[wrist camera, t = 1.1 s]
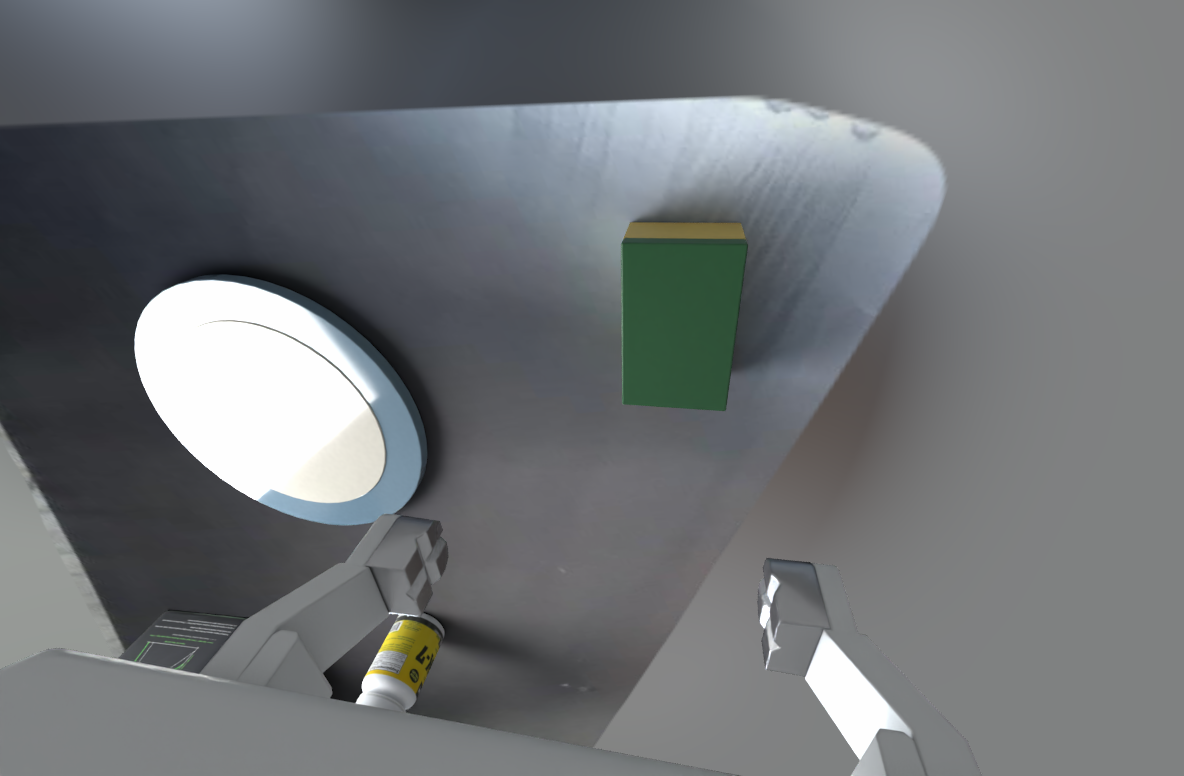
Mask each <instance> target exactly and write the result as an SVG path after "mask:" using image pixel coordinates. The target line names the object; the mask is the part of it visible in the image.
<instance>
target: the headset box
mask: <svg viewBox="0 0 1184 776" xmlns="http://www.w3.org/2000/svg"><path fill="white" fill-rule="evenodd" d="M244 620H246V619H245V618H238V617H230V616H219V615H211V614H200V613H190V612H181V611H165V612H164V613H163V614H162V615H161V616H160V617H159V618H158V619H157V620H156V621H155V622H154V623H153V624H152V625H151V626H150V627H149V628H148V629H147V630H146V631H145V632H144V633H143V634H142V635H141V636H140V637H139V638H138V639H137V640H136V641H135V642H134V643H133V644H132V645H131V646H130V647H129V648H128V649H127V650H126V651H125V652H124V653H123V654H122V655H121V656H120V657H119V658H118V659H123V660H128V661H133V662H139V663H144V664H149V665H155V666H160V667H165V668H170V669H176V670H181V671H186V672H192V673H197V674H199V673H200V672H201V671H202V670H203V669H204V667H205V666H206V665H207V664H208V663H209V661H210V660H211V659H212V658H213V657H214V655H215V654H216V653H217V652H218V651H219V649H220V648H221V647H222V646H223V645H224V644H225V642H226V641H227V640H228V639H229V638H230V636H231V635H232V634H233V633H234V632H235V630H236V629H237V628H238V627H239V626H240V624H241V623H242V622H243V621H244Z"/></svg>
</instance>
